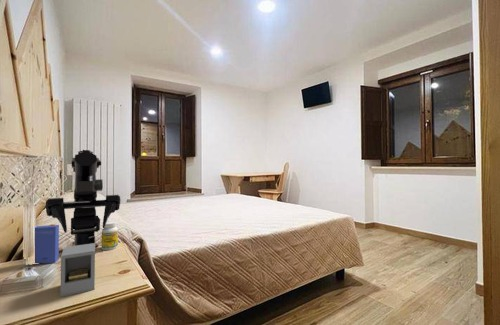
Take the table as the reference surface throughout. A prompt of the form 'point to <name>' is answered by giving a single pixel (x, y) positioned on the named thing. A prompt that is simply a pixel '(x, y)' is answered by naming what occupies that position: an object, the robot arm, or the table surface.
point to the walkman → (46, 243)
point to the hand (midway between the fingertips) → (85, 229)
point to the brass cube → (78, 274)
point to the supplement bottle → (110, 236)
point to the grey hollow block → (77, 268)
